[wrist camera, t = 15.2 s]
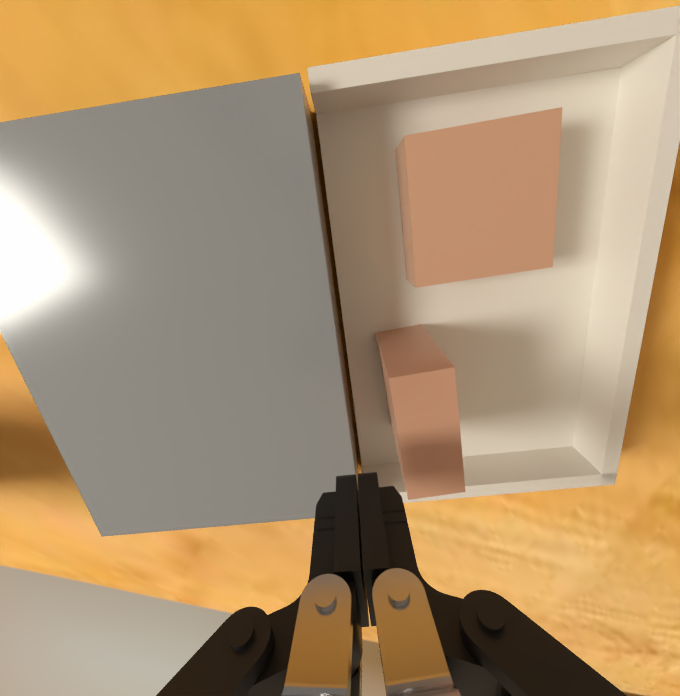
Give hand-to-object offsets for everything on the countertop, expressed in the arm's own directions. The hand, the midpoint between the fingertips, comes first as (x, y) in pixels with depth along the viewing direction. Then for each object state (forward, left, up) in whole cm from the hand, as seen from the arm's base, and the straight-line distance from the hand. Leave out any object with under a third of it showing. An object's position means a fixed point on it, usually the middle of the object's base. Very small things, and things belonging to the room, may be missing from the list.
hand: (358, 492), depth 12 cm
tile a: (-9, +6, -5) cm, 12 cm away
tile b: (-1, +2, -5) cm, 5 cm away
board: (-4, -8, -8) cm, 12 cm away
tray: (-4, +7, -8) cm, 12 cm away
